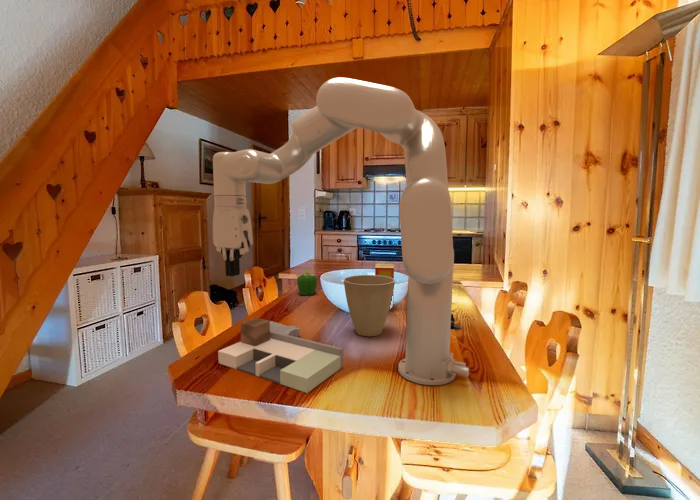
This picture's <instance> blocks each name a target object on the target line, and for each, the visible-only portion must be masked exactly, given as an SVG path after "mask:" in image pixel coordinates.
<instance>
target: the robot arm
mask: <svg viewBox="0 0 700 500" xmlns="http://www.w3.org/2000/svg"><path fill="white" fill-rule="evenodd" d="M315 98H316V101H315V102H316V103H315V104H316V106H314V107H312V108H311V109H309V110H308V111H306V112H303V113H302V115H301V114H300V116H298V117H297V118H295V119H294V120H293V122H292V124H291V130H292V133H291V137H290V138H289V139H288V141H287V142H286V143H284V144H283V145H282V146H280V147H279V148H278V149H275V150H274V151H272V152H271V153H268V152H264V151H259V150H257V149H249V148H248V149H242V150H238V151H237V150H236V151H234V152H232V151H219V152H216V153H214V155H213V156H212V157H213V158H212V170H213V171H212V172H213V173H212V175H213V178H212V179H213V195H214V196H213V198H214V199H213V200H214V203H213V204H214V209H213V217H212V243H213V246H215V251H216V252H219V253H220V254H221V255H222V259H223V260H224V263H225V264H224V265H225V276H226V277H235V276H239V275H240V274H241V271H240V260H241V259H242V256H243V255H246V254H249V252H250V250H249V248H251V247H253V243H254V238H253V228H252V220H251V213H250V211H249V208H247V204H248V200H247V197H246V196H247V193H246V192H247V191H246V188H247V187H246V185H247V184H246V182H248V183H258V184H267V185H271V184H272V185H274V184H275V183H278V182H281V181H283V180H284V179H286V178H287V177H289V176H291V175H292V174H294V173H296V172H297V171H299V170H300V169H301V168H302V167H304V166H305V165H306V164H307V163H308V161H310V160H311V159H312V157H313V156H314V154H316V153H317V152H319V151H321V150H322V149H324V148H326V147H327V146H329V145H331V144H332V143H334V142H336V141H337V140H339V139H341V138H342V137H345V136H346V135H347V134H350V133H351V132H352V131H354V130H356V129H358V128H361V129H365V130H369V131H372V132H376V133H379V134H380V135H381V136H382V137H383V138H385V139H386V140H387V141H389V142H391V143H394V144H397V145H399V146H401V148H402V150H403V152H404V167H405V168H404V169H405V179H406V181H405V182H406V183H405V184H406V186H405V188H404V189H403V190H402V193H401V195H400V198H399V209H398V211H399V225H400V237H401V238H400V240H401V242H400V243H401V253H402V254H401V256H402V264H403V267H404V269H405V271H406V273H407V275H408V276H407V277H408V278H407V280H408V281H407V292H406V293H407V295H406V296H407V297H406V299H407V301H406V302H407V303H406V329H405V330H406V331H405V335H406V336H405V358H403V359H402V360H400V361H399V362H398V367H397V368H398V372H399V374H400V375H401V377H403V378H404V379H406V380H408V381H411V382H413V383H416V384H418V385H424V386H441V385H442V386H443V385H446V384H448V383H451V382H453V381H454V380H455V378H456V375H459V376H462V377H466V378H467V377H469V374H470V367H468V366H467V365H466V364H467V363H466V362H464V361H463V362H462V361H457V360H456V359H454V353H453V352H450V351H451V349H450V347H451V346H450V345H451V329H450V328H451V313H452V304H453V283H454V281H453V280H454V279H453V278H454V265H455V264H454V263H455V249H454V244H453V243H454V242H453V241H454V240H453V221H452V220H453V218H452V198H451V194H450V191H449V181H448V180H449V179H448V167H447V165H448V164H447V154H446V145H445V139H444V136H443V133H442V131H441V129H440V127H439V126H438V124H437V122H435V121H434V120H433V119H432V118H431V117H430V116H428V115H427V114H425V113H423V112H422V111H420V110H418V109H416V108H415V105H414V103H413V101H412V99H411V97H410V96H409V95H408V94H407V93H406V92H405V91H403V90H401V89H399V88H396V87H394V86H391V85H385V84H380V83H375V82H370V81H365V80H360V79H355V78H350V77H344V76H343V77H341V76H339V77H333V78H330V79H328V80H327V81H325V82H323V84H322V85H321V86H320V87H319V88H318V91H317V93H316V97H315Z"/></svg>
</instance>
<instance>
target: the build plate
mask: <svg viewBox="0 0 700 500" xmlns="http://www.w3.org/2000/svg"><path fill="white" fill-rule="evenodd" d="M450 330H464V328H463V327H462V326H461V325H460V324H459V323H456V322H455V317H454V313H452V312H451V328H450Z"/></svg>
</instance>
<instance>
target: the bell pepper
mask: <svg viewBox="0 0 700 500" xmlns="http://www.w3.org/2000/svg"><path fill="white" fill-rule="evenodd" d="M296 282H297V283H296V285H297V289H298V292H299V294H300V295H302V296H308V295H309V296H310V295H314V294H315V293H316V290H317V285H318V283H317V282H318V278H317V276H316V275H314V274H313V275H312V274H309V270H308V269H305V274H301V275H299V276H297V279H296Z"/></svg>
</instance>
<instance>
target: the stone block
mask: <svg viewBox="0 0 700 500" xmlns="http://www.w3.org/2000/svg"><path fill="white" fill-rule="evenodd" d="M269 321H270V331H274V332H278V333H282V334H286V335H290V336H294V337H299V338H300V336H301V329H300V327H299V326H297V325H285V324H283V323H280V322H275V321H272V320H269Z"/></svg>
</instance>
